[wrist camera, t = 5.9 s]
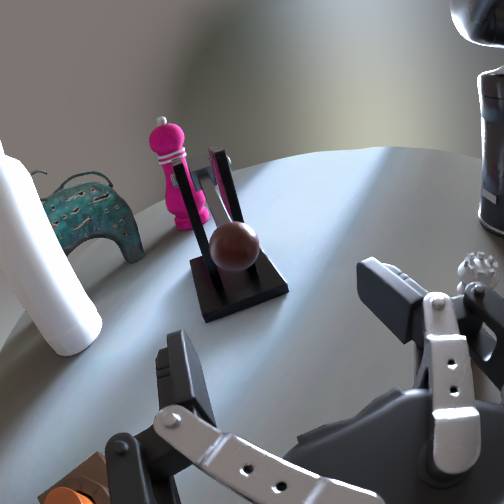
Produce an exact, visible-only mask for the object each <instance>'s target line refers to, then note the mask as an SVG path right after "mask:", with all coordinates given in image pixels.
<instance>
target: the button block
mask: <svg viewBox="0 0 504 504" xmlns="http://www.w3.org/2000/svg"><path fill="white" fill-rule="evenodd" d="M58 487H66V488H69V489H71V490H73V491H75V492H77V493H79V494H81V495H83V496H85V497H87V498H89V499H90V500H91V501H92V502H93V503H94V504H111V503H110V496H109V489H108V481H107V471H106V460H105V456H103V455H102V454H100V453H99V452H98V451H97V452H96V453H94V454H93V455H92V456H91V457H89V458H88V459H87V460H86V461H84V462H83V463H82V464H81V465H79V466H78V467H77V468H75V469H74V470H73V471H72V472H70V473H69V474H68V475H66V476H65V477H64V478H62V479H61V480H60V481H59V482H57V483H56V484H55V485H53V486H52V487H50V488H49V489H48V490H46V491H45V492H44V493H42V494H41V495H40V496H38V497H37V498H38V500H39V502H40V504H44V502H45V499H46V497H47V495H48V494H49V493H50V492H51V491H52V490H53V489H55V488H58Z"/></svg>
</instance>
